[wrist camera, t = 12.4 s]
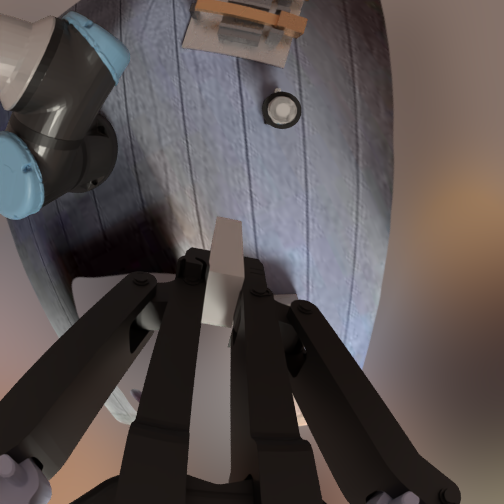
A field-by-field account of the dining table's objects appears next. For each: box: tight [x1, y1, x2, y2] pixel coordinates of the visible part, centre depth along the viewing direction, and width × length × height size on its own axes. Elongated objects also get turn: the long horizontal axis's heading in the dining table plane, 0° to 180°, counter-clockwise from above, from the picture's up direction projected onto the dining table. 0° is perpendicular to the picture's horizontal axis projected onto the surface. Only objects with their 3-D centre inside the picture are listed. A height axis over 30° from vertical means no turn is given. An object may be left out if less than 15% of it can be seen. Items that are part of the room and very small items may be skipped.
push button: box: [262, 88, 301, 129], centre depth 39 cm, size 7×5×10 cm
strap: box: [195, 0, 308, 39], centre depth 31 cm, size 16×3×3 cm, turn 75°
